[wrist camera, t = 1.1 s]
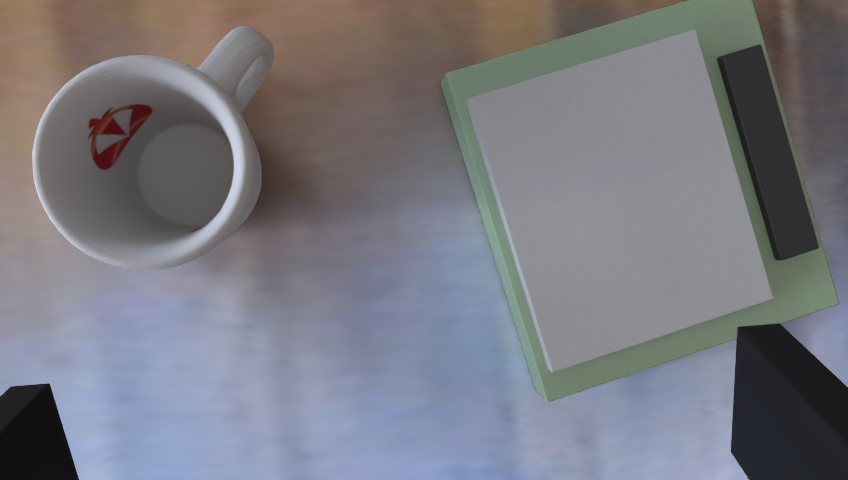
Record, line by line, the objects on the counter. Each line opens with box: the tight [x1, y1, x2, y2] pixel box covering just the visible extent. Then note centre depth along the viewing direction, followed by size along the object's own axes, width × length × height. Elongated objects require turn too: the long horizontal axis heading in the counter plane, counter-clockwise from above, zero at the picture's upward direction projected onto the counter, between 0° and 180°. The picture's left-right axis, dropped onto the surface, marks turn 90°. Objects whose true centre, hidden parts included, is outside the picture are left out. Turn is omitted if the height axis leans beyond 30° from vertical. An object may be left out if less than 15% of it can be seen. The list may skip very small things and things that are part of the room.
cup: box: [32, 26, 274, 270], centre depth 30 cm, size 11×8×8 cm
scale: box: [441, 0, 839, 402], centre depth 34 cm, size 16×15×3 cm
